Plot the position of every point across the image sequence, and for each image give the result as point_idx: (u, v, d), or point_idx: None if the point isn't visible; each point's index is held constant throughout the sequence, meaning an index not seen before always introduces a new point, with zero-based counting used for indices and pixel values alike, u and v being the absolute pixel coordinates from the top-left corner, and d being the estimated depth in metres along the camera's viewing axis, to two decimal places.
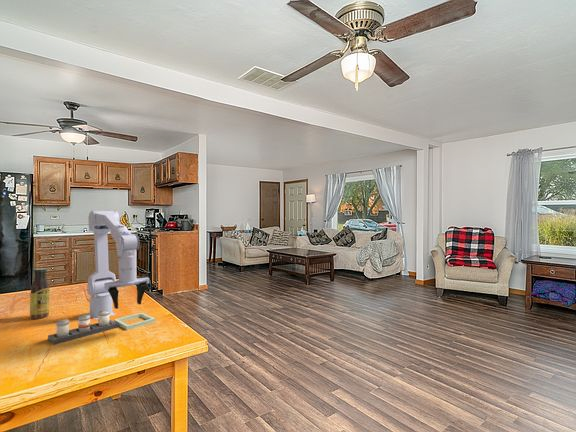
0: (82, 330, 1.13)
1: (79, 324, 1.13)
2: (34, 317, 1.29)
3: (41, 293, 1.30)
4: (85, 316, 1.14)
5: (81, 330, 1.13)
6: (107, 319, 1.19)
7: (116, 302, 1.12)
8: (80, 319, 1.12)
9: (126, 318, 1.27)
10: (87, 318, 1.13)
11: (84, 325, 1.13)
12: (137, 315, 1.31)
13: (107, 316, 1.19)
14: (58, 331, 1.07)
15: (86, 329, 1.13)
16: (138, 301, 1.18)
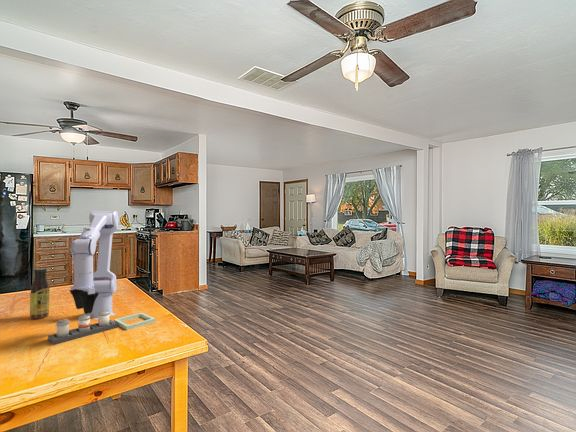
0: (82, 330, 1.13)
1: (79, 324, 1.13)
2: (34, 317, 1.29)
3: (41, 293, 1.30)
4: (85, 316, 1.14)
5: (81, 330, 1.13)
6: (107, 319, 1.19)
7: (75, 302, 1.15)
8: (80, 319, 1.12)
9: (126, 318, 1.27)
10: (87, 318, 1.13)
11: (84, 325, 1.13)
12: (137, 315, 1.31)
13: (107, 316, 1.19)
14: (58, 331, 1.07)
15: (86, 329, 1.13)
16: None
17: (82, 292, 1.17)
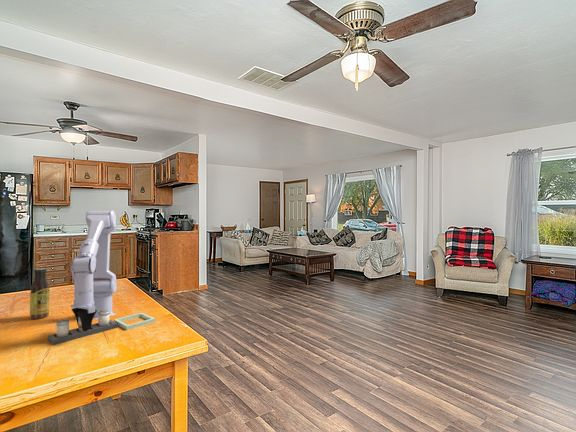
0: (82, 330, 1.13)
1: (79, 324, 1.13)
2: (34, 317, 1.29)
3: (41, 293, 1.30)
4: None
5: (81, 330, 1.13)
6: (107, 319, 1.19)
7: (77, 321, 1.15)
8: None
9: (126, 318, 1.27)
10: None
11: None
12: (137, 315, 1.31)
13: (107, 316, 1.19)
14: (58, 331, 1.07)
15: None
16: None
17: (84, 310, 1.16)
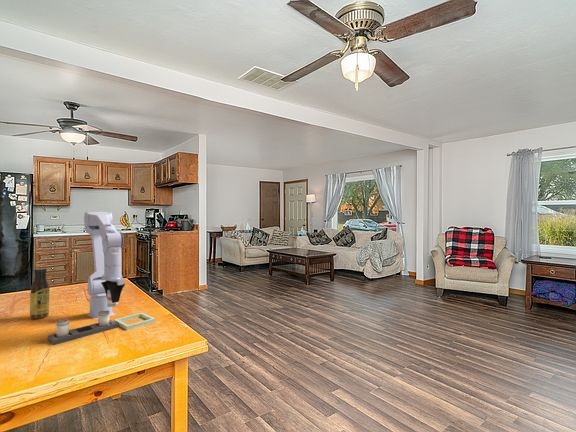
0: (111, 302, 1.18)
1: (108, 296, 1.18)
2: (34, 317, 1.29)
3: (41, 293, 1.30)
4: None
5: (110, 302, 1.18)
6: (107, 319, 1.19)
7: (106, 294, 1.20)
8: (109, 292, 1.18)
9: (126, 318, 1.27)
10: None
11: None
12: (137, 315, 1.31)
13: (107, 316, 1.19)
14: (58, 331, 1.07)
15: None
16: None
17: None
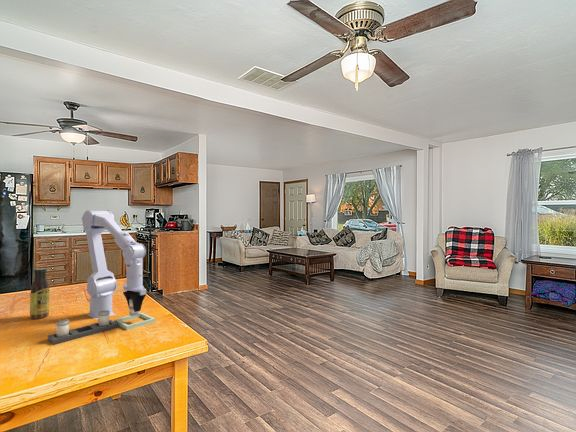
0: (133, 311, 1.23)
1: (130, 306, 1.23)
2: (34, 317, 1.29)
3: (41, 293, 1.30)
4: None
5: (132, 311, 1.23)
6: (107, 319, 1.19)
7: (128, 303, 1.25)
8: (131, 301, 1.23)
9: (126, 318, 1.27)
10: None
11: None
12: (137, 315, 1.31)
13: (107, 316, 1.19)
14: (58, 331, 1.07)
15: None
16: None
17: (134, 294, 1.27)
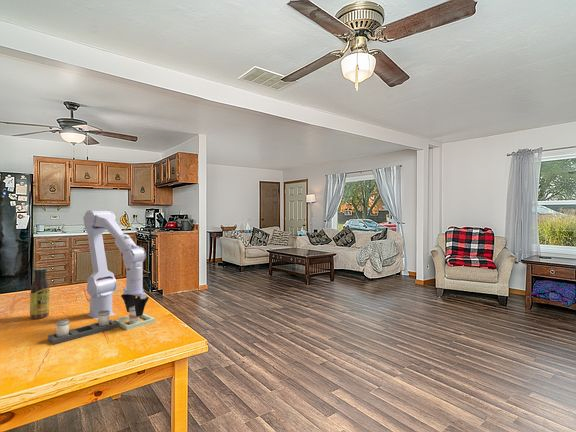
0: (133, 320, 1.23)
1: (130, 315, 1.23)
2: (34, 317, 1.29)
3: (41, 293, 1.30)
4: None
5: (132, 320, 1.23)
6: (107, 319, 1.19)
7: (126, 306, 1.26)
8: (131, 310, 1.23)
9: (126, 318, 1.27)
10: None
11: (134, 316, 1.23)
12: None
13: (107, 316, 1.19)
14: (58, 331, 1.07)
15: (136, 319, 1.24)
16: None
17: (132, 296, 1.28)
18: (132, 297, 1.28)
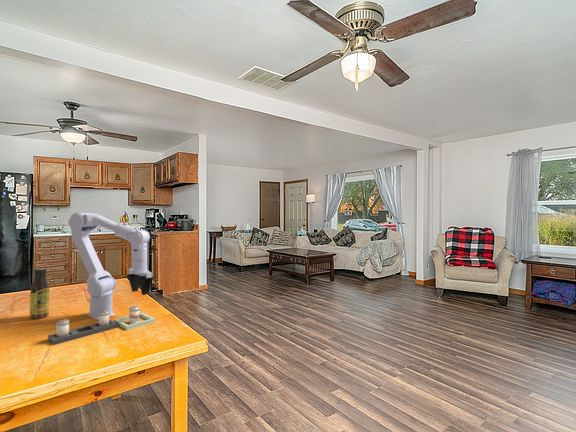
0: (133, 320, 1.23)
1: (130, 314, 1.23)
2: (34, 317, 1.29)
3: (41, 293, 1.30)
4: (135, 307, 1.25)
5: (132, 320, 1.23)
6: (107, 319, 1.19)
7: (131, 286, 1.33)
8: (131, 310, 1.23)
9: (126, 318, 1.27)
10: (137, 309, 1.24)
11: (134, 316, 1.23)
12: None
13: (107, 316, 1.19)
14: (58, 331, 1.07)
15: (136, 319, 1.24)
16: None
17: (136, 277, 1.34)
18: (137, 277, 1.34)
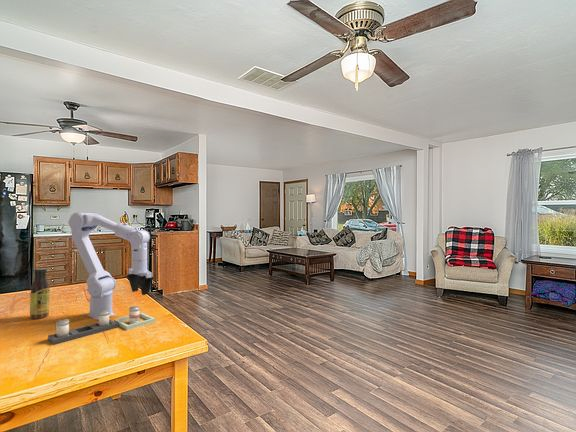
0: (133, 320, 1.23)
1: (130, 314, 1.23)
2: (34, 317, 1.29)
3: (41, 293, 1.30)
4: (135, 307, 1.25)
5: (132, 320, 1.23)
6: (107, 319, 1.19)
7: (131, 286, 1.33)
8: (131, 310, 1.23)
9: (126, 318, 1.27)
10: (137, 309, 1.24)
11: (134, 316, 1.23)
12: None
13: (107, 316, 1.19)
14: (58, 331, 1.07)
15: (136, 319, 1.24)
16: None
17: (136, 277, 1.34)
18: (137, 277, 1.34)
